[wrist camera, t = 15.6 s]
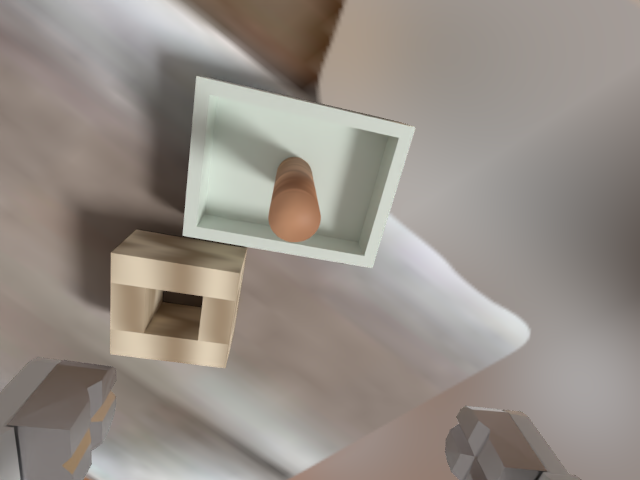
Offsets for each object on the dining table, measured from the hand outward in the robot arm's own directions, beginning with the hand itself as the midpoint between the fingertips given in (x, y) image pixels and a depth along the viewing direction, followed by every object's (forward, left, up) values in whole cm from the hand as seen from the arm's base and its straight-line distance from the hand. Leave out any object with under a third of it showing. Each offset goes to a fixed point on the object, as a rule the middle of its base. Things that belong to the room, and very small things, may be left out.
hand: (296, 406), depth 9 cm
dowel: (0, 0, -24) cm, 24 cm away
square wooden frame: (-8, -13, -25) cm, 30 cm away
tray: (0, 0, -25) cm, 25 cm away
